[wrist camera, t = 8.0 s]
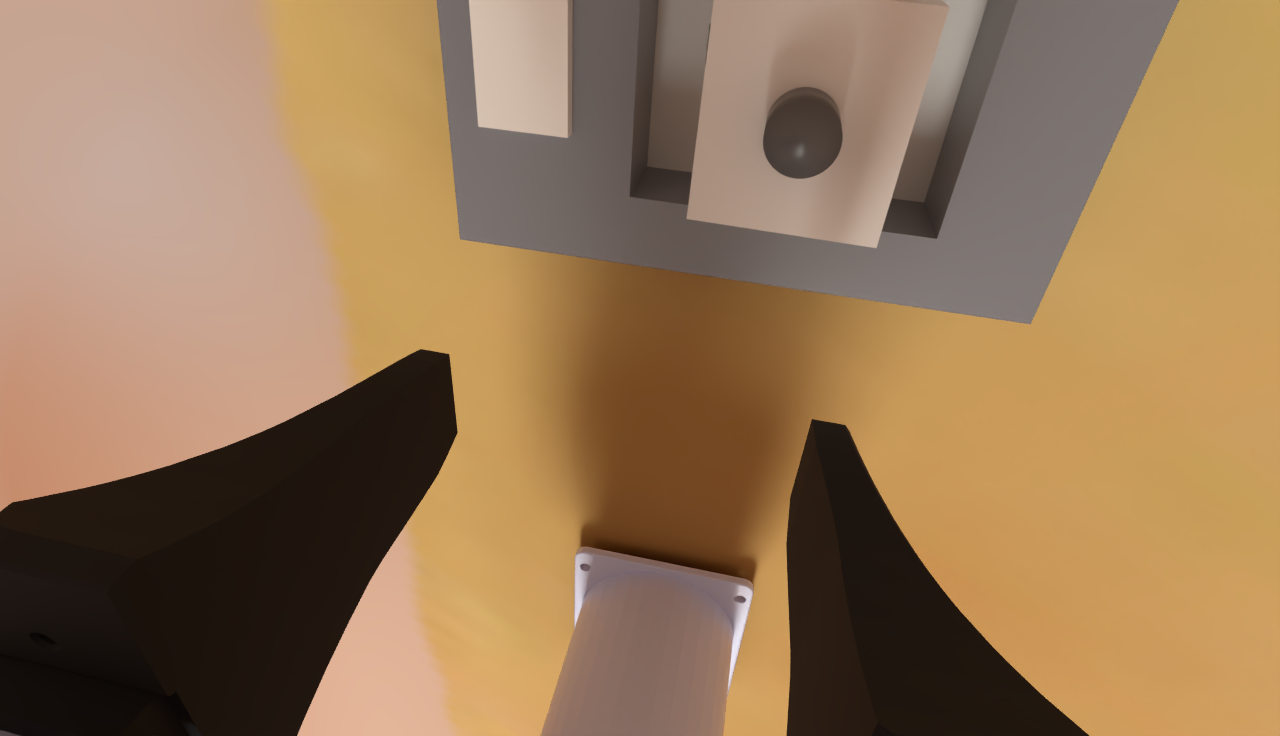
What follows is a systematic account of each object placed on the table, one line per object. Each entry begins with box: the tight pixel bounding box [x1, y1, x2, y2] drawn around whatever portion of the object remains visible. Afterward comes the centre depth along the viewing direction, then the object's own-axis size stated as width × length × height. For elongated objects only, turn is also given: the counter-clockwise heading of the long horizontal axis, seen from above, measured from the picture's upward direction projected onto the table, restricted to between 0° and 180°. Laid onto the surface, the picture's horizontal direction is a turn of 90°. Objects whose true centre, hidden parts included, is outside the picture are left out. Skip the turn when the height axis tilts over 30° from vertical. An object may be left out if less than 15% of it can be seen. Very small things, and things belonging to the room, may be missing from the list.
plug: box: [687, 0, 950, 248], centre depth 15 cm, size 5×4×7 cm
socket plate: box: [437, 0, 1179, 324], centre depth 17 cm, size 12×16×3 cm
